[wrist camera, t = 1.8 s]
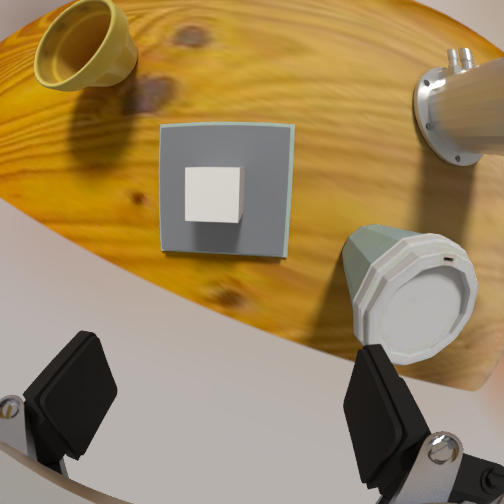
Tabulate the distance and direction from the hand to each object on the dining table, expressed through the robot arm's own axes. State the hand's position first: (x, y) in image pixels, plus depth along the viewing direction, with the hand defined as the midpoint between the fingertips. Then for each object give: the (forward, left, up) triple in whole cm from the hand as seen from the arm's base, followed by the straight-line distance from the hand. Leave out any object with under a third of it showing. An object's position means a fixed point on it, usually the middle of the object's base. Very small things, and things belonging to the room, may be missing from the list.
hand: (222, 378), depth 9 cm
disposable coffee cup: (+2, +13, -22) cm, 25 cm away
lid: (-4, -3, -21) cm, 22 cm away
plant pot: (-20, -17, -22) cm, 35 cm away
